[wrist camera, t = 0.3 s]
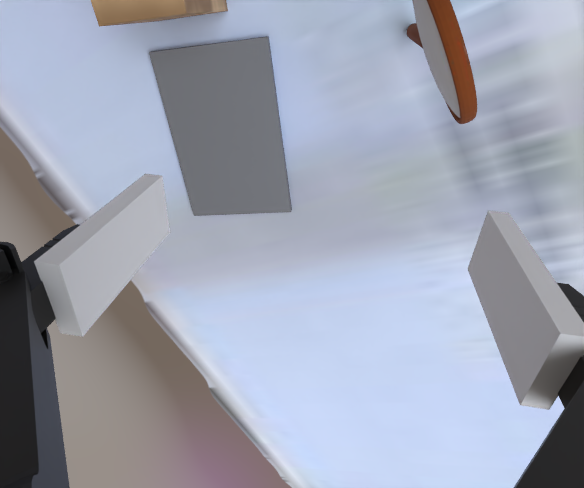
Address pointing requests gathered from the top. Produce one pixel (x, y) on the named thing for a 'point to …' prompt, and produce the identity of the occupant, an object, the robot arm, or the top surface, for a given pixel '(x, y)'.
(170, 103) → the mat
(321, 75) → the top surface
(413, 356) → the top surface
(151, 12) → the wooden block
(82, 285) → the robot arm
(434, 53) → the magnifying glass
